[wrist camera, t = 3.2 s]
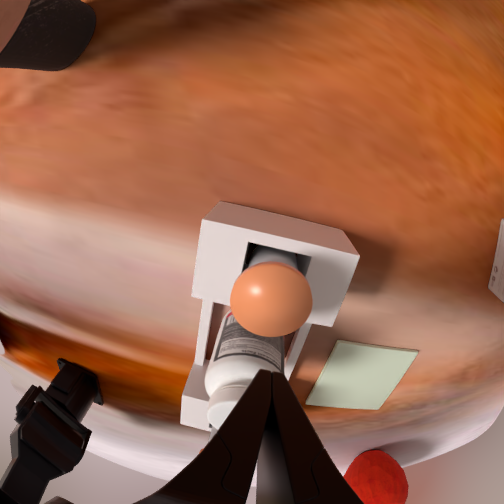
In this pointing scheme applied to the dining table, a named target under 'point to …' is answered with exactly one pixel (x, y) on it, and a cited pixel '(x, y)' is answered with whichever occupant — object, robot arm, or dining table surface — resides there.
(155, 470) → the dining table surface
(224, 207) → the holder
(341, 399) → the mat
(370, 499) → the apple
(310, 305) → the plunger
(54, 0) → the travel mug
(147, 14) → the dining table surface
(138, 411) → the dining table surface
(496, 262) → the supplement box
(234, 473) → the robot arm
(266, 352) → the pill bottle
